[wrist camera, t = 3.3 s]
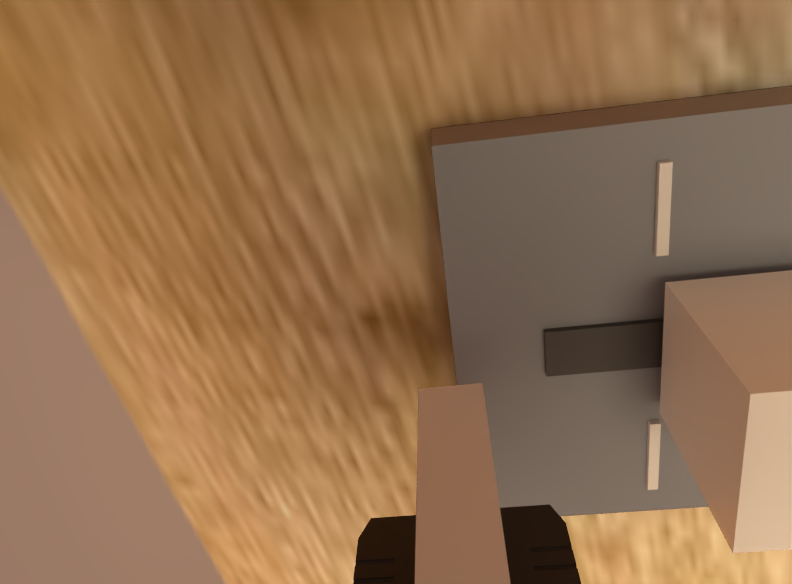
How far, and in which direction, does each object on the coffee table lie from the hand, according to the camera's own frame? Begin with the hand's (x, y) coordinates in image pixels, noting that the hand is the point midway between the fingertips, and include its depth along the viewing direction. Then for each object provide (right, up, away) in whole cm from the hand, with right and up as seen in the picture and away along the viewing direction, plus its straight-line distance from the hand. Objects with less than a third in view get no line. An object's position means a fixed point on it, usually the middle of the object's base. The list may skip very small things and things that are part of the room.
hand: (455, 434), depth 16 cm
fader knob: (+8, +2, +2) cm, 8 cm away
